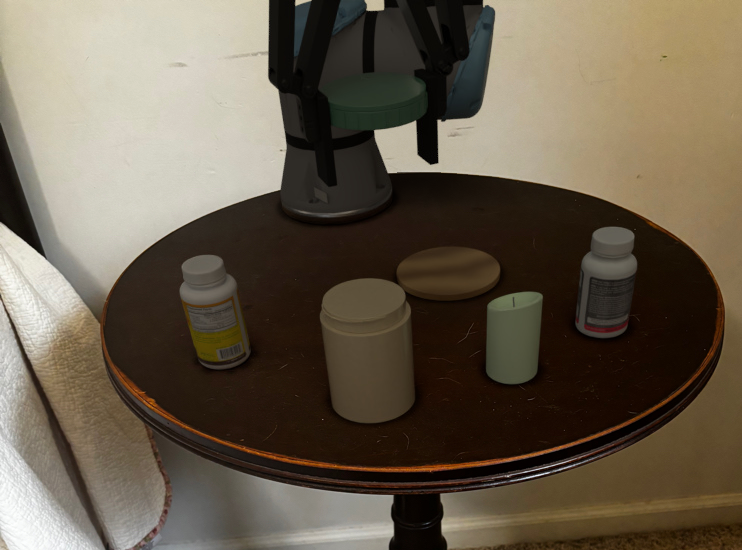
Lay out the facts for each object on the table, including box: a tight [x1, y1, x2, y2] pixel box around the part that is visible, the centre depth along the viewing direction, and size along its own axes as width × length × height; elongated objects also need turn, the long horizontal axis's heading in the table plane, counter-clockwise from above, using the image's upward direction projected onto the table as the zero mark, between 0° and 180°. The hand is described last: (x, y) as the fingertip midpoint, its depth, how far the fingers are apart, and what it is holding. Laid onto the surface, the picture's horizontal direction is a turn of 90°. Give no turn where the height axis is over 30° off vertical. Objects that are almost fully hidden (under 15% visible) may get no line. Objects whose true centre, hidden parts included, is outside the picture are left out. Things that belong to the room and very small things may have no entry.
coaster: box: [396, 246, 501, 302], centre depth 93 cm, size 12×12×1 cm
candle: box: [485, 291, 544, 385], centre depth 75 cm, size 5×5×8 cm
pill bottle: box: [575, 226, 638, 339], centre depth 80 cm, size 5×5×10 cm
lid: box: [320, 72, 428, 131], centre depth 63 cm, size 8×8×2 cm
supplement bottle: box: [179, 254, 252, 370], centre depth 79 cm, size 6×6×10 cm
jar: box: [319, 277, 416, 424], centre depth 72 cm, size 8×8×10 cm
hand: (378, 169), depth 67 cm, fingers closed on lid, 8 cm apart
